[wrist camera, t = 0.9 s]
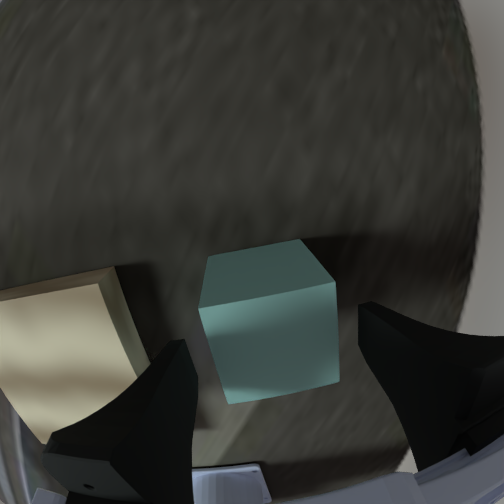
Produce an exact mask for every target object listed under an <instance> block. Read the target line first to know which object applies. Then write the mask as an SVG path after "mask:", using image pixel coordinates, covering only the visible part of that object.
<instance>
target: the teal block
mask: <svg viewBox="0 0 504 504" xmlns="http://www.w3.org/2000/svg"><path fill="white" fill-rule="evenodd" d="M198 309H199V313H200V316H201V320H202V323H203V327H204V330H205V333H206V337H207V340H208V343H209V347H210V350H211V353H212V356H213V359H214V363H215V366H216V369H217V372H218V375H219V378H220V381H221V384H222V387H223V390H224V393H225V396H226V399H227V402H228V404H234V403H241V402H247V401H253V400H259V399H265V398H270V397H275V396H281V395H285V394H290V393H295V392H300V391H304V390H308V389H313V388H317V387H321V386H325V385H329V384H333V383H336V382H339V339H338V315H337V297H336V282H335V281H334V279H333V278H332V277H331V276H330V275H329V273H328V272H327V271H326V270H325V268H324V267H323V266H322V265H321V264H320V262H319V261H318V260H317V259H316V258H315V256H314V255H313V254H312V253H311V252H310V250H309V249H308V248H307V247H306V246H305V245H304V243H303V242H302V241H301V240H300V239H297V240H292V241H287V242H281V243H276V244H271V245H265V246H260V247H255V248H250V249H244V250H239V251H234V252H229V253H223V254H218V255H213V256H208V261H207V266H206V271H205V276H204V281H203V286H202V291H201V297H200V302H199V307H198Z"/></svg>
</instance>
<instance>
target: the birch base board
mask: <svg viewBox="0 0 504 504" xmlns="http://www.w3.org/2000/svg"><path fill="white" fill-rule="evenodd" d="M150 364H151V363H150V361H149V359H148V356H147V354H146V352H145V349H144V347H143V345H142V342H141V340H140V337H139V335H138V332H137V330H136V327H135V325H134V322H133V319H132V317H131V314H130V311H129V309H128V306H127V303H126V300H125V297H124V295H123V292H122V289H121V286H120V283H119V280H118V277H117V274H116V271H115V267H114V266H113V267H108V268H103V269H98V270H94V271H89V272H84V273H79V274H74V275H70V276H65V277H60V278H56V279H51V280H46V281H41V282H37V283H32V284H28V285H23V286H18V287H14V288H9V289H5V290H0V388H1V389H2V391H3V392H4V394H5V395H6V397H7V398H8V400H9V401H10V403H11V404H12V406H13V407H14V408H15V410H16V411H17V413H18V414H19V415H20V417H21V418H22V419H23V421H24V422H25V423H26V424H27V426H28V427H29V428H30V430H31V431H32V432H33V433H34V435H35V436H36V437H37V438H38V439H39V441H40V442H41V443H43V444H47V442H48V440H49V438H50V436H51V433H52V432H54V431H57V430H59V429H62V428H64V427H67V426H69V425H72V424H74V423H76V422H78V421H80V420H82V419H84V418H86V417H88V416H89V415H91V414H93V413H94V412H96V411H98V410H99V409H101V408H102V407H103V406H105V405H106V404H108V403H109V402H111V401H112V400H113V399H115V398H116V397H117V396H118V395H120V394H121V393H122V392H123V391H124V390H126V389H127V388H128V387H129V386H130V385H131V384H132V383H133V382H134V381H135V380H136V379H137V378H138V377H139V376H140V375H141V374H142V373H143V372H144V371H145V370H146V368H147V367H148V366H149V365H150Z"/></svg>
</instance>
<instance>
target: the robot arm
mask: <svg viewBox="0 0 504 504" xmlns="http://www.w3.org/2000/svg"><path fill="white" fill-rule="evenodd" d="M358 345H359V347H360V349H361V352H362V354H363V356H364V358H365V360H366V363H367V364H368V366H369V367H370V369H371V371H372V372H373V374H374V375H375V377H376V378H377V380H378V382H379V383H380V385H381V386H382V388H383V389H384V391H385V392H386V394H387V396H388V397H389V399H390V401H391V402H392V404H393V406H394V408H395V411H396V413H397V415H398V417H399V419H400V422H401V424H402V426H403V429H404V431H405V434H406V436H407V439H408V442H409V445H410V447H411V450H412V453H413V456H414V459H415V463H416V466H417V469H418V472H417V473H415V474H412V473H408V472H394V473H391V474H387V475H383V476H380V477H377V478H374V479H371V480H368V481H365V482H362V483H359V484H356V485H353V486H349V487H346V488H342V489H339V490H335V491H331V492H328V493H324V494H319V495H315V496H311V497H306V498H301V499H296V500H291V501H285V502H281V503H277V504H495V503H496V502H497V501H499V500H500V499H501V498H503V497H504V336H478V335H468V334H463V333H457V332H452V331H447V330H444V329H440V328H436V327H433V326H430V325H427V324H424V323H421V322H419V321H416V320H414V319H411V318H409V317H406V316H404V315H402V314H399V313H397V312H395V311H393V310H391V309H388V308H386V307H384V306H382V305H380V304H377V303H375V302H372V301H371V302H367V303H363V304H359V305H358ZM197 400H198V375H197V373H196V370H195V367H194V365H193V362H192V359H191V356H190V354H189V351H188V348H187V345H186V342H185V339H181V340H173V341H170V342H169V343H168V344H167V345H166V346H165V347H164V349H163V350H162V351H161V352H160V353H159V355H158V356H157V357H156V358H155V359H154V360H153V362H152V363H151V364H150V365H149V366H148V367H147V368H146V370H145V371H144V372H143V373H142V374H141V375H140V376H139V377H138V378H137V379H136V380H135V381H134V382H133V383H132V384H131V385H130V386H129V387H128V388H127V389H126V390H124V391H123V392H122V393H121V394H120V395H118V396H117V397H116V398H115V399H113V400H112V401H111V402H109V403H108V404H106V405H105V406H103V407H102V408H101V409H99V410H98V411H96V412H94V413H93V414H91V415H89V416H88V417H86V418H84V419H82V420H80V421H78V422H76V423H74V424H72V425H69V426H67V427H64V428H62V429H59V430H57V431H54V432H52V433H51V436H50V438H49V440H48V442H47V444H46V446H45V448H44V450H43V452H42V455H41V462H42V464H43V466H44V467H45V469H46V470H47V471H48V472H49V473H50V474H51V475H52V476H53V477H54V478H55V479H56V480H57V481H58V482H59V483H60V484H61V485H62V486H64V487H65V488H66V489H67V490H68V491H69V493H68V497H67V498H66V497H65V496H63V495H61V494H58V493H55V492H51V491H48V490H45V489H41V488H37V490H36V492H35V495H34V498H33V500H32V503H31V504H264V503H269V502H271V501H272V499H271V496H270V493H269V491H268V488H267V485H266V482H265V480H264V477H263V474H262V471H261V469H260V466H259V464H255V463H254V464H246V465H237V466H228V467H217V468H202V469H192V438H193V430H194V423H195V415H196V408H197Z"/></svg>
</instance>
